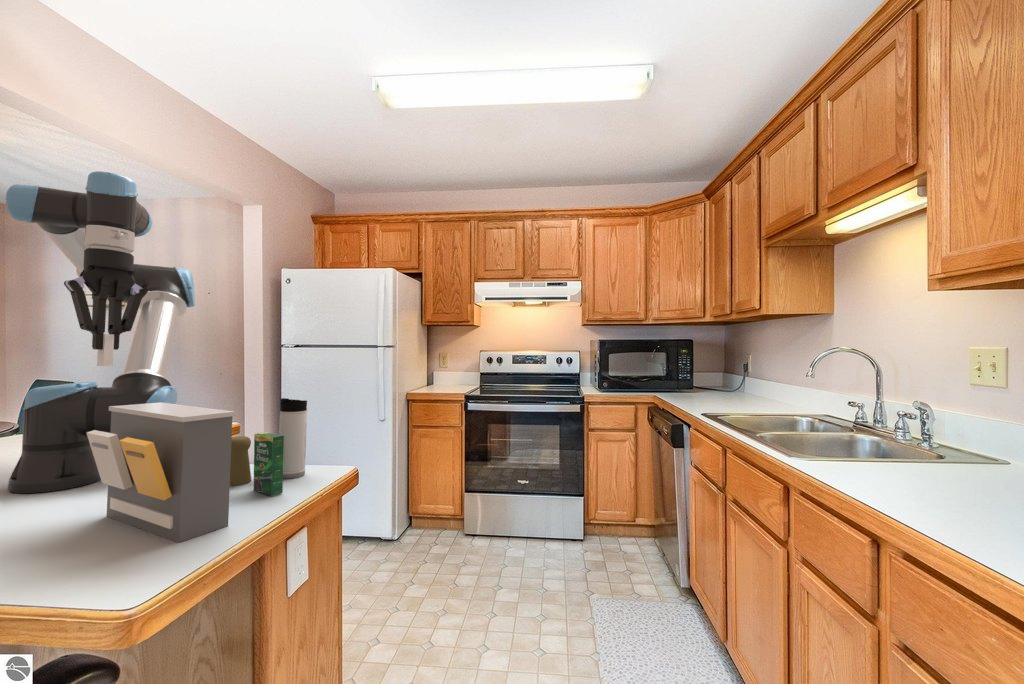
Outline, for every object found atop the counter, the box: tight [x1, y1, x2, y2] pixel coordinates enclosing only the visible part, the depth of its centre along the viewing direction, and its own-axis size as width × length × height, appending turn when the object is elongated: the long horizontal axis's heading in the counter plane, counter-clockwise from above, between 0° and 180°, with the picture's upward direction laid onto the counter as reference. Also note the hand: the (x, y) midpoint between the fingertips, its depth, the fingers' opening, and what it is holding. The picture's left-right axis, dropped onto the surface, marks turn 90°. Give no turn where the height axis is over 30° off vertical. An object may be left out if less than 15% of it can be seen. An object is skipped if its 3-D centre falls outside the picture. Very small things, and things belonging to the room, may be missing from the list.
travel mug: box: [278, 397, 308, 480], centre depth 112 cm, size 6×7×20 cm
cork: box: [230, 435, 252, 487], centre depth 105 cm, size 6×6×11 cm
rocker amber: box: [119, 437, 172, 500], centre depth 73 cm, size 2×8×10 cm, turn 64°
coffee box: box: [253, 431, 284, 497], centre depth 99 cm, size 8×3×13 cm, turn 57°
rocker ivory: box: [87, 430, 132, 490], centre depth 78 cm, size 2×8×10 cm, turn 64°
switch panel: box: [106, 402, 236, 543], centre depth 81 cm, size 9×25×21 cm, turn 64°
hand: (104, 365), depth 89 cm, fingers closed
